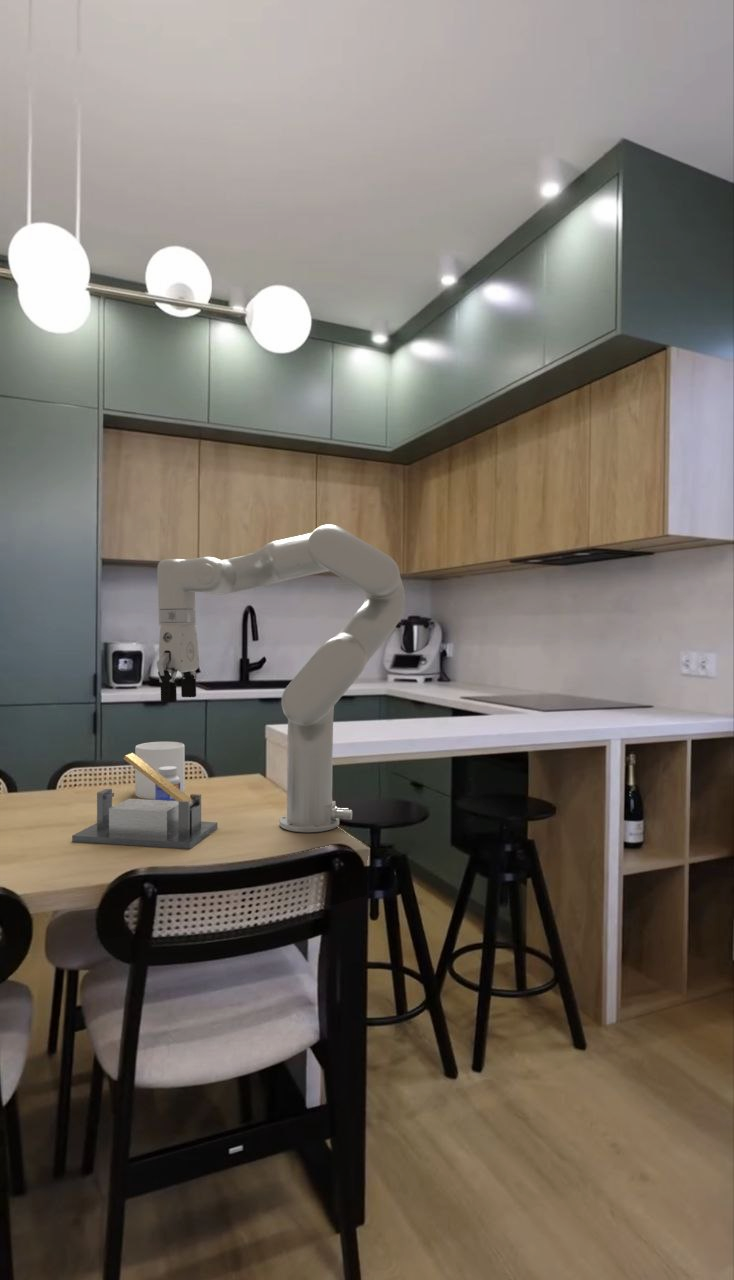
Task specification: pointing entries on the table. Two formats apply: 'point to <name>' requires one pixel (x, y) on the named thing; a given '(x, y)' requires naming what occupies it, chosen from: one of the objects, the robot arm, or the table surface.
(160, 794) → the pill bottle
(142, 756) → the cup
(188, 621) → the robot arm
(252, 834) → the table surface
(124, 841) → the base
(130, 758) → the strap
